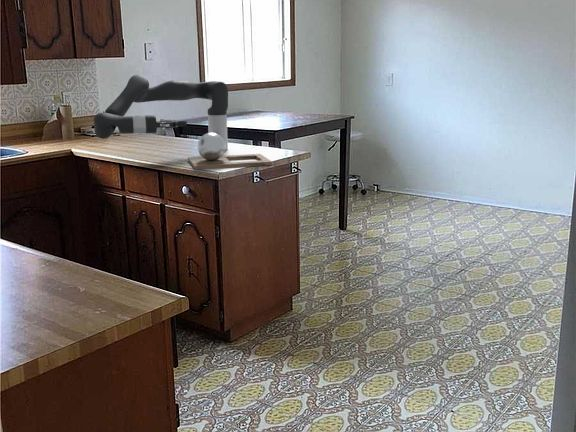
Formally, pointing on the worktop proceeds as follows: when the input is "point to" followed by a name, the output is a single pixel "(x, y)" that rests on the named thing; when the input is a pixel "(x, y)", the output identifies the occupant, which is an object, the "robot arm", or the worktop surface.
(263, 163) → the wooden tray
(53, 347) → the worktop surface
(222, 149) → the ball
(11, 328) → the worktop surface
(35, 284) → the worktop surface
